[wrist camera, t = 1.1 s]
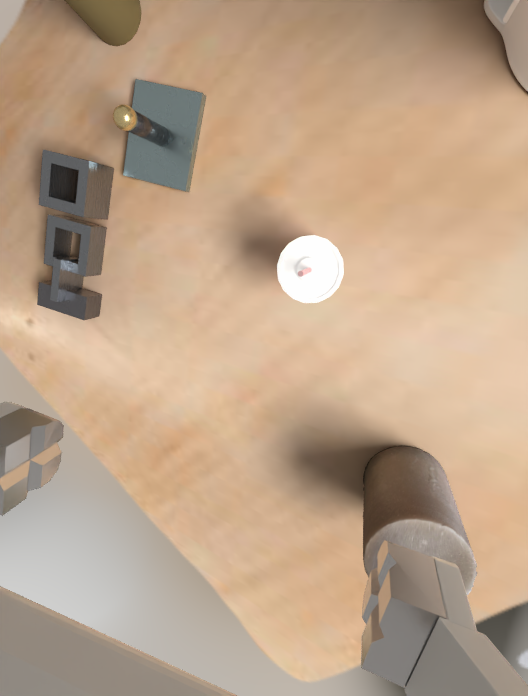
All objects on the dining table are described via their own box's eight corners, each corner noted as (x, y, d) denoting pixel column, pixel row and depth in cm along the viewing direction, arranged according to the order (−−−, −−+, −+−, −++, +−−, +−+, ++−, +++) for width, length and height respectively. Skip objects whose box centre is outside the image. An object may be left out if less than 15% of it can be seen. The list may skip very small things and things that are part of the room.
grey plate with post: (140, 82, 46) (87, 45, 37) (206, 96, 44) (166, 61, 36) (128, 176, 49) (76, 162, 40) (189, 192, 47) (148, 180, 39)
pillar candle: (351, 495, 51) (344, 591, 37) (383, 431, 48) (390, 510, 34) (425, 529, 50) (448, 642, 36) (464, 466, 47) (505, 562, 33)
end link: (70, 157, 50) (42, 149, 46) (113, 168, 49) (89, 161, 45) (66, 207, 52) (38, 204, 47) (107, 219, 51) (83, 217, 46)
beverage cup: (284, 275, 47) (250, 287, 34) (311, 226, 45) (286, 219, 32) (330, 302, 46) (314, 326, 33) (360, 254, 44) (354, 258, 31)
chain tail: (62, 214, 52) (35, 212, 48) (110, 228, 51) (87, 227, 47) (54, 301, 55) (28, 306, 51) (99, 316, 54) (76, 322, 50)
